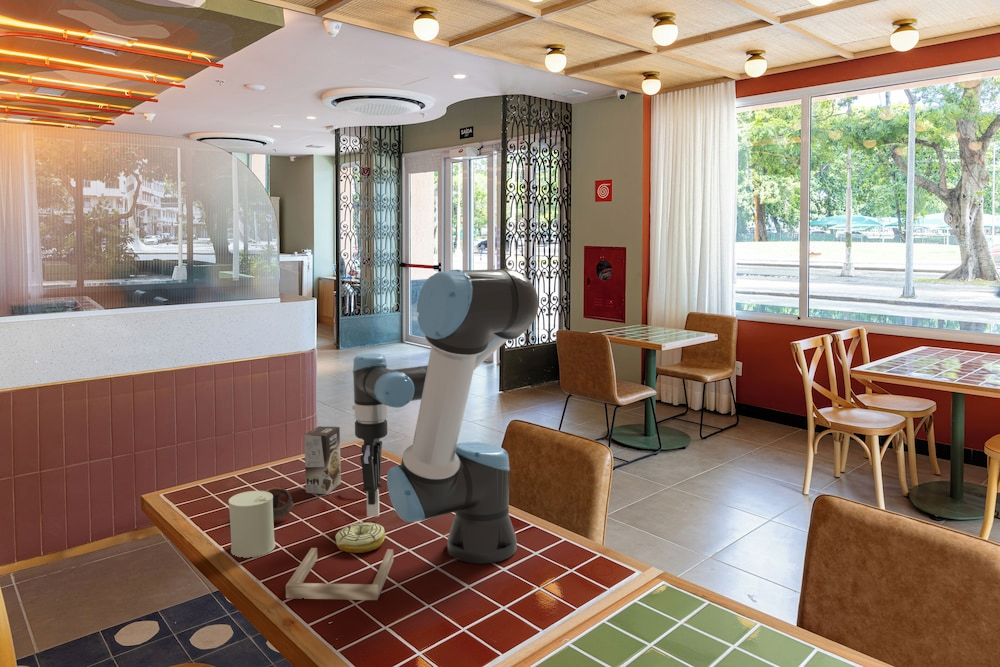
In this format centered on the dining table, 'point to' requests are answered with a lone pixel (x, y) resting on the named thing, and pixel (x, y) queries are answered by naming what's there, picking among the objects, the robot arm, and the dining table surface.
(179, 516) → the dining table surface
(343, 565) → the dining table surface
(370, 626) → the dining table surface
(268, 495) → the can
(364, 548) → the decorated donut
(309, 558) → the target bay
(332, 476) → the coffee box
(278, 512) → the brown spiked ring
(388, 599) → the dining table surface
